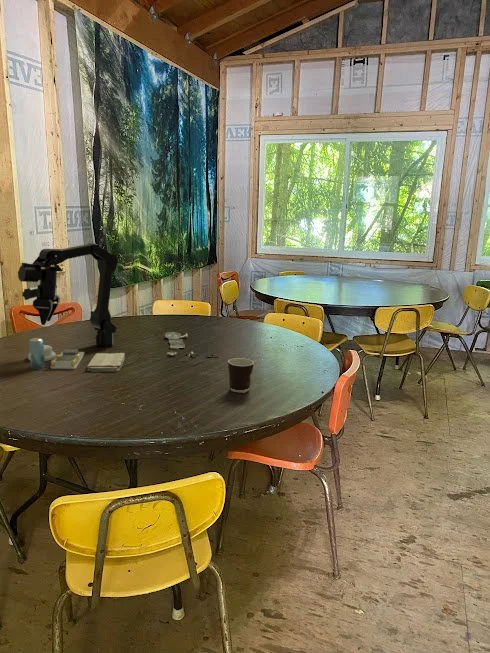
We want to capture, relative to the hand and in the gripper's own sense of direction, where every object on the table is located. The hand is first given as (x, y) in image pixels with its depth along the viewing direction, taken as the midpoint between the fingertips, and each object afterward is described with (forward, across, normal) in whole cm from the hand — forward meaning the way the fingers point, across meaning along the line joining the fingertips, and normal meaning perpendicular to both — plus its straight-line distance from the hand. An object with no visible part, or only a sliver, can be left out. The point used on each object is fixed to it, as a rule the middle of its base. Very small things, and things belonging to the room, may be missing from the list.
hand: (45, 323), depth 176 cm
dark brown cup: (+10, +38, +71) cm, 81 cm away
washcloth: (+13, +9, +24) cm, 29 cm away
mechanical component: (+14, 0, -1) cm, 14 cm away
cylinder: (+15, +11, 0) cm, 18 cm away
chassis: (+13, +5, +10) cm, 17 cm away
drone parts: (+8, -15, +58) cm, 61 cm away
